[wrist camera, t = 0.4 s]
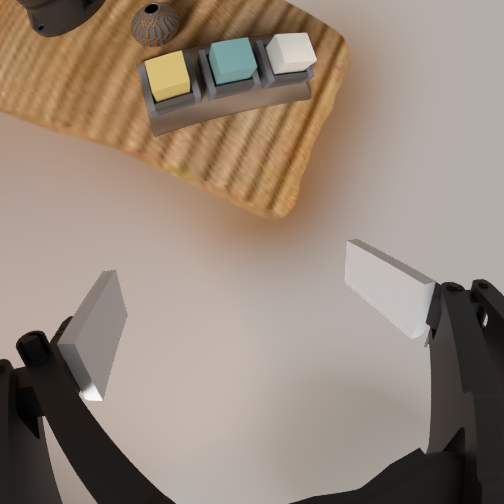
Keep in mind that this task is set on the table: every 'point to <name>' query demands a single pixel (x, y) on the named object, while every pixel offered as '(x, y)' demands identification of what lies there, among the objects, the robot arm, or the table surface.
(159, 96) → the plunger ochre
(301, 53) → the plunger cream
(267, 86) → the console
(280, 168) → the table surface
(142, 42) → the vase
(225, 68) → the plunger teal
